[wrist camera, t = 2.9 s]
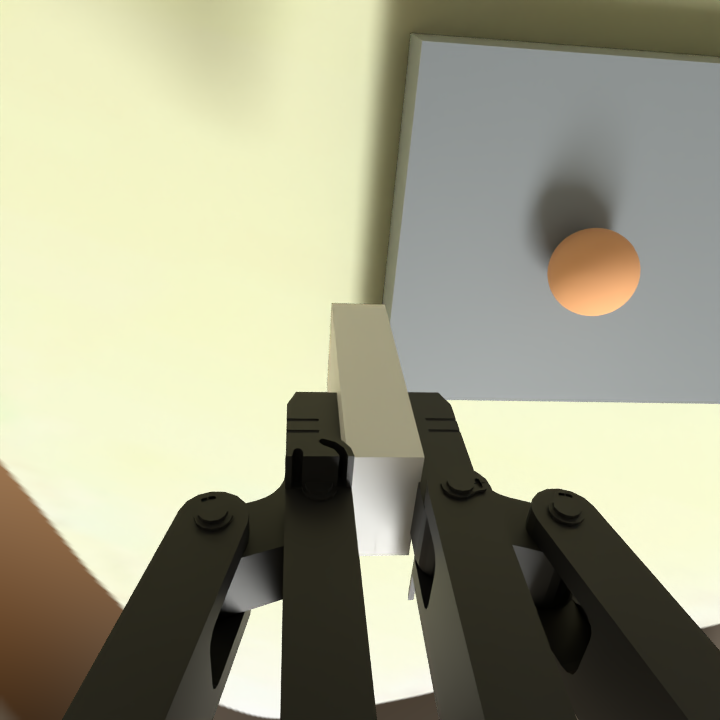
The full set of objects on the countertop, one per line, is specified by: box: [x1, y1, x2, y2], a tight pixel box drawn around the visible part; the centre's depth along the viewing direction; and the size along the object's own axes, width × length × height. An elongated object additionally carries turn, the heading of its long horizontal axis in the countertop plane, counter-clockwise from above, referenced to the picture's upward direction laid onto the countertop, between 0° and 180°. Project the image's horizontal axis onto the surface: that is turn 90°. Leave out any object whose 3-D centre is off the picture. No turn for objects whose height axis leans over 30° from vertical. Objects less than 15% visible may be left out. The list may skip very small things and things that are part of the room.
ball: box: [547, 228, 640, 316], centre depth 23 cm, size 3×3×3 cm
